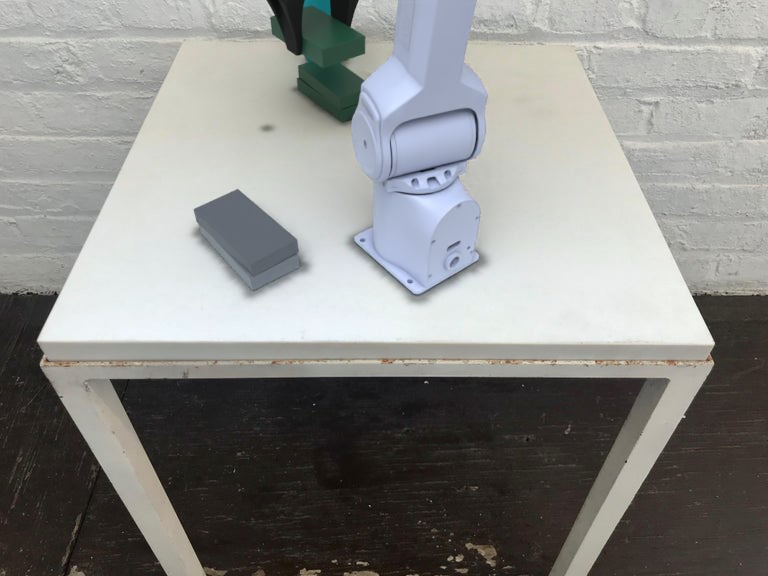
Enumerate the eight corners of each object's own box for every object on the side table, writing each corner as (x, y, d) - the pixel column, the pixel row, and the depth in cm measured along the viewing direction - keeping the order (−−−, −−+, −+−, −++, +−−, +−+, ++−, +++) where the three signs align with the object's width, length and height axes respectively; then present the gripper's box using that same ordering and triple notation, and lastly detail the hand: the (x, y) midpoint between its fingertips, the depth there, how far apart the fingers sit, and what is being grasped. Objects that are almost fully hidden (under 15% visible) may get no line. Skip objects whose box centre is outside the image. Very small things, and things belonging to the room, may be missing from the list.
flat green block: (365, 53, 67) (365, 35, 65) (322, 68, 64) (321, 49, 63) (312, 22, 72) (311, 4, 71) (271, 34, 70) (269, 16, 68)
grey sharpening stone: (302, 266, 57) (299, 240, 55) (250, 292, 55) (245, 266, 53) (247, 212, 63) (242, 186, 60) (198, 233, 60) (191, 207, 58)
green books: (376, 109, 77) (377, 85, 75) (341, 123, 75) (340, 98, 72) (330, 77, 82) (329, 54, 80) (296, 89, 80) (294, 66, 78)
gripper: (347, -118, 64) (349, 15, 74) (221, -95, 57) (242, 48, 67) (390, -102, 60) (386, 36, 70) (260, -75, 54) (277, 73, 63)
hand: (318, 44), depth 68 cm, fingers closed on flat green block, 5 cm apart
